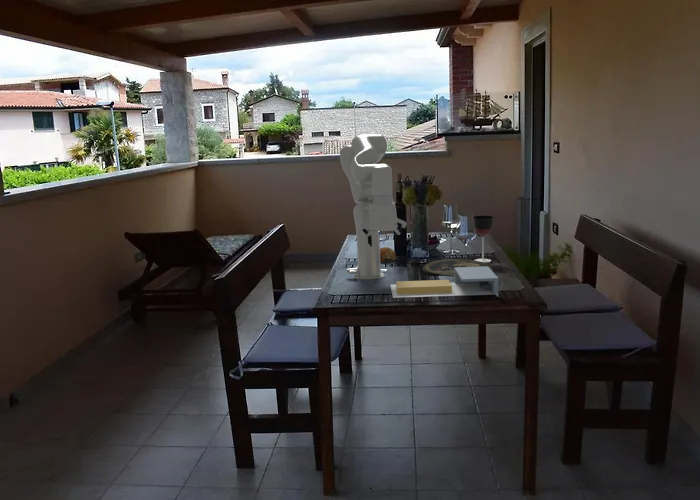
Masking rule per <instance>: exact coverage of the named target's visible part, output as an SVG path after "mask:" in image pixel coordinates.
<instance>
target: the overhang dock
mask: <svg viewBox="0 0 700 500" xmlns="http://www.w3.org/2000/svg"><path fill="white" fill-rule="evenodd" d="M453 277H454V282H450V283H451V285H452V292H443V293H413V294H398V293H397V288H396V284H390V289H391V295H392V298H393V299H394V298H395V299H396V298H397V299H398V298H423V297H424V298H426V297H427V298H428V297H430V298H431V297H450V296H451V297H455V296H457V297H458V296H459V297H460V296H483V295H484V296H487V295H495V296H496V297H498V298H499V277H498V276H497V274H496V273H495V272H494V270H493V271H492V270H491V269H490V268H489V267H488V266H485V267H456V268H454V276H453Z"/></svg>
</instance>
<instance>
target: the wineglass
mask: <svg viewBox="0 0 700 500" xmlns="http://www.w3.org/2000/svg"><path fill="white" fill-rule="evenodd" d="M472 221H473V228H474V229H473V230H474V232H475V233H476V234H478V235H479V236H481V241H482V242H481V250H482V251H481V258H477V259H474V261H480V262H484V263H490V262H492V260H491V259H490V258H489V259H488V258H485V257H484V256H485V253H484V252H485V245H484V244H485V241H484V240H485V236H487V235H489V234H490V233H491V232H492V229H493V223H494V216H492V215H475V216H473V217H472Z"/></svg>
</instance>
